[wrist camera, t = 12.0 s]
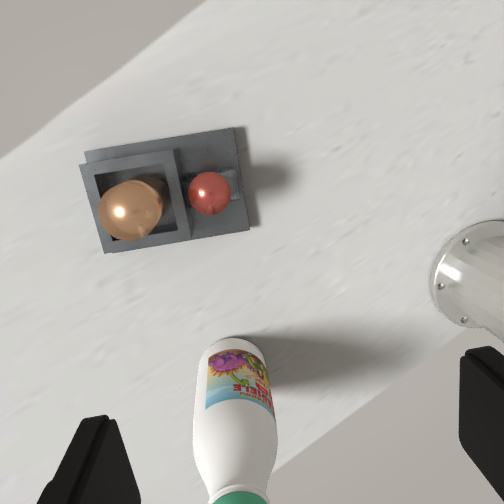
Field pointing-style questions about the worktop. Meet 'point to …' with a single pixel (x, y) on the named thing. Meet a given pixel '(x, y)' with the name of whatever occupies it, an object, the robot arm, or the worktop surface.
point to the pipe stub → (134, 207)
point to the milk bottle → (234, 423)
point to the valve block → (175, 186)
